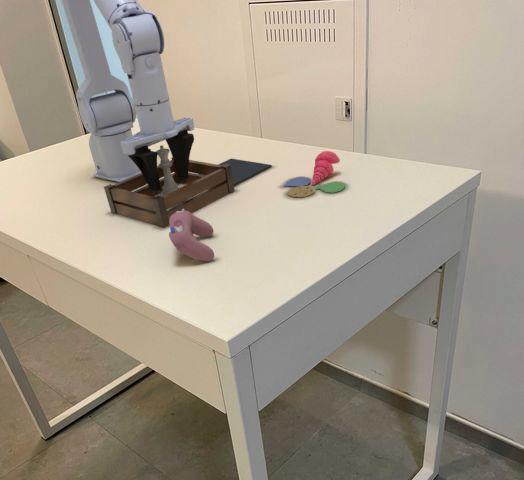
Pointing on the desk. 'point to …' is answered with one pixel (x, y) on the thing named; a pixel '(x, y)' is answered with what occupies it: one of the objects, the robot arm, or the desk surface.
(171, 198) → the crate
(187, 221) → the video game controller
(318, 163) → the toy pieces
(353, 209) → the desk surface
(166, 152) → the chess piece
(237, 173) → the mat
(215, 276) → the desk surface
